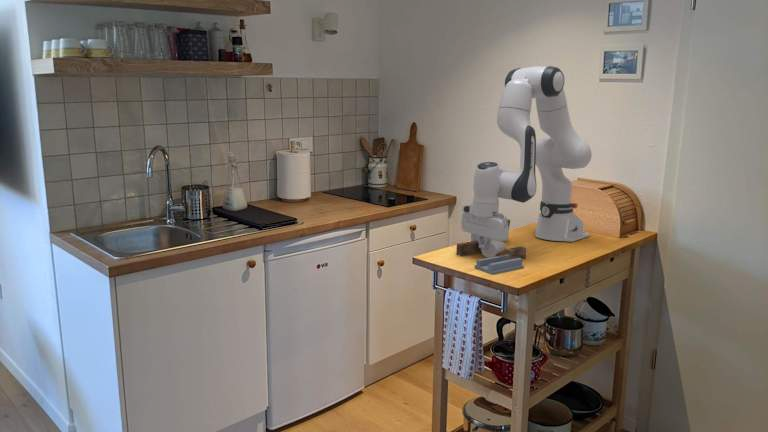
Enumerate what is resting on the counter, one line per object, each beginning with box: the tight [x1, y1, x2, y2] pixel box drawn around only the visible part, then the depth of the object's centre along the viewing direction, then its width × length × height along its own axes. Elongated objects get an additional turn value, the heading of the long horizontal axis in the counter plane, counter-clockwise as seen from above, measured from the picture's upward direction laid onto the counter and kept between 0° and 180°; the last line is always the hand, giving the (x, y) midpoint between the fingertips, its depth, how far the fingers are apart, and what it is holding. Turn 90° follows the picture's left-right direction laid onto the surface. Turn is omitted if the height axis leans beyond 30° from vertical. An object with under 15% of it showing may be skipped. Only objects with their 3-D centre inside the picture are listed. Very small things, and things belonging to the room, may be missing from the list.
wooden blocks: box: [455, 239, 527, 261], centre depth 216 cm, size 17×17×4 cm
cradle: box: [474, 254, 525, 276], centre depth 202 cm, size 14×8×3 cm, turn 124°
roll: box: [481, 240, 507, 258], centre depth 220 cm, size 6×12×6 cm, turn 148°
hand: (483, 248), depth 214 cm, fingers closed
